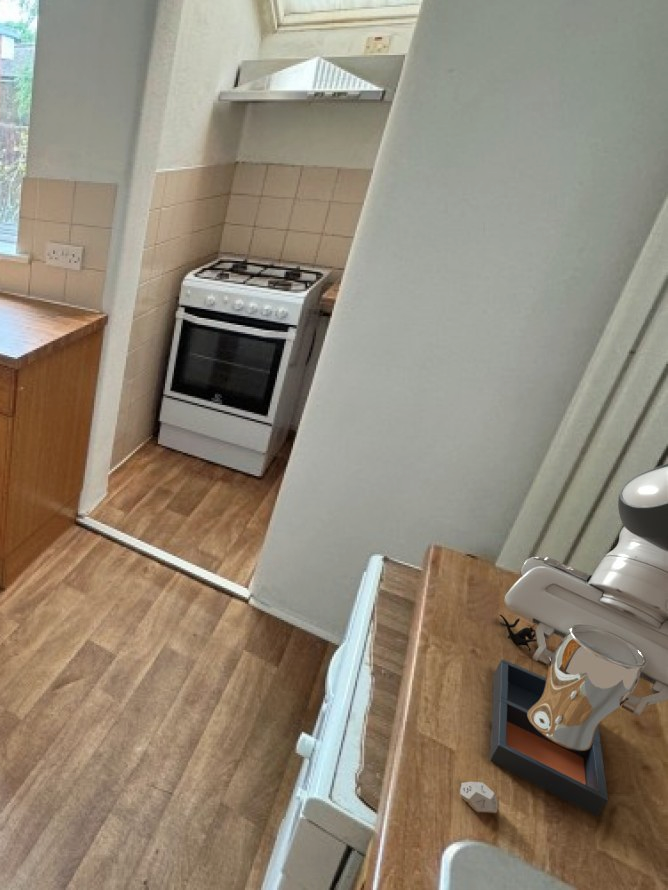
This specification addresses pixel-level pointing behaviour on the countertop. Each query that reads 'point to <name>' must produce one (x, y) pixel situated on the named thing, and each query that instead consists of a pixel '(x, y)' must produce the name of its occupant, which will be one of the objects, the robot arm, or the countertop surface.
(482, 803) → the game die
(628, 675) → the beer glass
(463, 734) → the countertop surface
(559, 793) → the glass rack
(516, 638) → the creature
